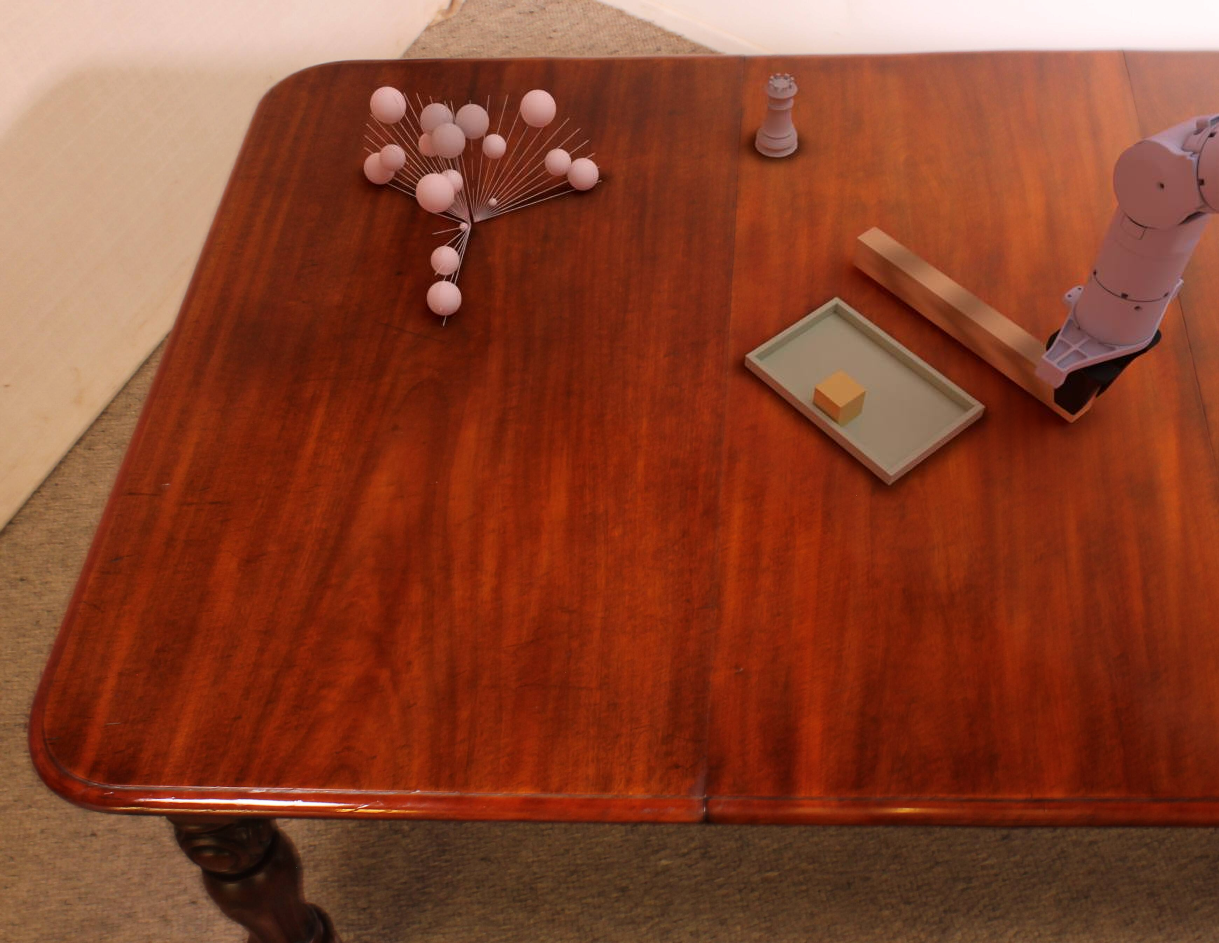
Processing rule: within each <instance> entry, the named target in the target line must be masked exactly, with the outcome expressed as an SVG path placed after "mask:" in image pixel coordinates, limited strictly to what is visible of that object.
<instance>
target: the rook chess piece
mask: <svg viewBox="0 0 1219 943" xmlns="http://www.w3.org/2000/svg"><path fill="white" fill-rule="evenodd" d="M768 79H769V80H768V83H766V84H765V85H764V91H765V94H766V95H767V96H768V97H767V98H766V100H765V104H766V106H767V110H766V115H765V119H764V121H763V122H762V123H761V125H760V127H759V128H758V129H757V131H756V135H755V138H756V139H755V143H754V146H755V148H756V150H757V151H758V152H759V153H760V154H762V155H763V156H766V157H768V158H776V159H779V158H786V157H788V156H789V155H791V154H792V153H794V152H795V150H796V149H797V148H798V132H797V130H796V128H795V125H794V123H793V121H792V107H793V105H794V99H793V97H794V96H795V95H796V94H797V92H798V86H797V85H796V83H795V78H794V76H791V77H790V74H788V73H784V76H783V77H782V74H781V73H780V72H779V73H775V76H773V75H771V76H770V77H769V78H768Z"/></svg>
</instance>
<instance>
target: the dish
mask: <svg viewBox="0 0 1219 943" xmlns="http://www.w3.org/2000/svg"><path fill="white" fill-rule="evenodd" d="M744 366H745V367H746V368H747V369H748V370H749V371H751V372H752V373H753V374H754V375H756V377H758V378H759V379H761V380H762V381H763V382H764V383H765V384H766V385H767V386H768V387H770V388H771V389H772V390H774V391H775V392H776V393H777V394H778V395H780V396H781V397H782V398H783V399H784V400H786V401H787V402H788V403H789V404H791V405H792V407H794V408H795V409H796V410H798V411H799V412H800V413H801V414H802V415H804V416H805V417H806V418H807V419H809V421H811V422H812V423H813V424H814V425H815V426H817V427H818V428H819V429H820V430H822V431H823V432H824V433H825V434H826V435H828V436H829V437H830V438H831V439H832V440H834V441H835V442H836V443H837V444H838V445H840V447H842V448H843V449H844V450H845V451H847V452H848V453H849V454H851V456H853V457H854V458H855V459H856V460H858V462H860V463H861V464H863V466H865V467H866V468H867V469H869V471H871V472H872V473H873V474H874V475H875V476H877V477H878V478H879V479H881V480H882V481H883V482H884V483H885V484H886V485H887V486H890V485H892V484H893V483H894V482H896V481H897V480H899V478H901V477H902V476H904V475H905V474H906V473H907V472H909V471H910V470H912V469H913V468H915V467H916V466H917V465H918V464H920V463H921V462H922V461H924V460H925V459H927V457H929V456H931V455H932V454H933V453H934V452H936V451H937V450H939V449H940V448H941V447H943V446H944V445H945V444H947V443H948V442H949V441H951V440H953V438H954V437H956V436H958V435H959V434H960V433H961V432H963V431H964V430H965V429H966V428H968V427H969V426H971V425H972V424H974V423H975V422H976V421H977V420H979V419H980V418H981V417H982V416H983V414H984V411H985V408H986V406H985V405H983V404H982V403H981V402H979V401H978V400H977V399H976V398H975V397H973V396H971V395H970V394H969V393H967V392H966V391H965V390H964V389H962V388H961V387H959V386H958V385H957V384H955V383H954V382H953V381H951V380H950V379H948V378H947V377H946V376H945V375H943V374H942V373H941V372H939V371H938V370H937V369H935V368H934V367H932V366H931V365H930V364H929V363H927V362H926V361H924V360H923V359H922V358H920V357H919V356H917V354H915V353H914V352H912V351H911V350H910V349H908V348H907V347H905V346H904V345H903V344H901V343H900V342H898V341H897V340H896V339H895V338H893V337H892V336H891V335H889V334H888V333H887V332H886V331H884V330H882V329H881V328H880V327H878V326H877V325H876V324H874V323H873V322H871V320H869V319H867V318H866V317H865V316H864V315H862V314H860V313H859V312H858V311H857V310H856V309H854V307H851V306H850V305H849V304H847V303H846V302H845V301H843V300H842V299H841V298H839V297H838V296H835V297H834V298H832V299H831V300H828V302H826V303H824V304H823V305H821V306H819V307H818V308H816V309H815V310H814V311H812V312H810V313H809V314H808V315H806V316H805V317H803V318H801V319H800V320H797V322H795V323H794V324H791V326H789V327H788V328H786V329H785V330H783V331H782V332H780V333H778V334H777V335H775V336H774V337H772V338H770V339H769V340H767V341H766V342H764V343H763V344H761V345H759V346H758V347H756V348H754V349H753V350H752V351H750V352H749V353H747V354H745V357H744ZM839 370H842V371H843V372H844V373H845V374H847V375H848V376H849V377H851V378H852V379H853V380H854V381H856V382H857V383H858V384H859V385H861V386H862V387H863V388H865V389H866V394H865V398H864V403H863V408H862V412H861V413H860V414H859V415H858V416H856V417H855V418H853V419H852V420H850V421H849V422H848V423H846V424H845V425H843V426H842V427H840V426H839V425H838V424H837V423H835V422H834V421H833V420H832V419H831V418H829V417H828V416H827V415H826V414H824V413H823V412H822V411H821V410H820V409H818V408H817V407H816V406H815V405H813V404H812V403H813V397H814V390H815V387H816V386H817V385H819V384H820V383H821V382H823V381H824V380H826V379H827V378H829V377H830V376H832V375H833V374H835V373H836V372H838V371H839Z"/></svg>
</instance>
